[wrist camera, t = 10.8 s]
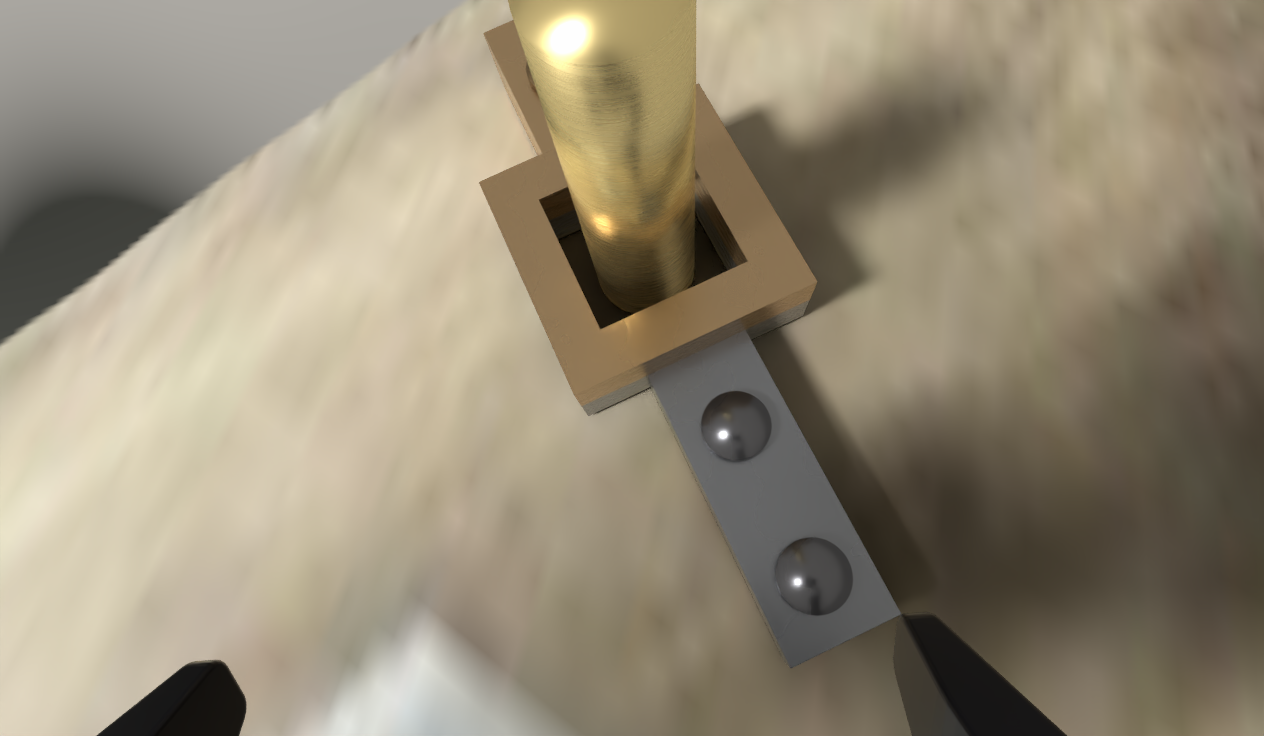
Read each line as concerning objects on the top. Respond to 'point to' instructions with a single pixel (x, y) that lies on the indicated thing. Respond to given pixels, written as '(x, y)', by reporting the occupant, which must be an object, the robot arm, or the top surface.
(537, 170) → the square frame with handle
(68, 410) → the top surface
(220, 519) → the top surface
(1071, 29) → the top surface
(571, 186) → the brass pin
